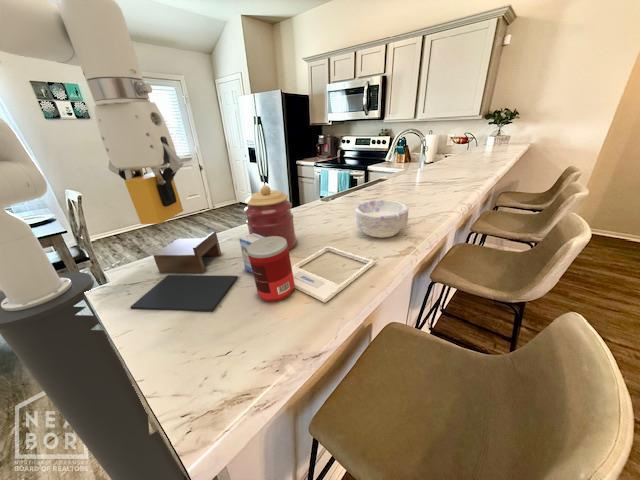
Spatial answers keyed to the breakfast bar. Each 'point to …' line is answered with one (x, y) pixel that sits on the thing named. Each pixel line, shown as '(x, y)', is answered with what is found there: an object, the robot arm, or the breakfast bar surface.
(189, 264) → the shelf stand
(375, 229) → the white purple bowl
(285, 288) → the canned food
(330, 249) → the photo frame
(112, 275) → the breakfast bar surface
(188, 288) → the counter mat
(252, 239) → the medicine box
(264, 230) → the kitchen canister
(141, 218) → the tea packet
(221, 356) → the breakfast bar surface
